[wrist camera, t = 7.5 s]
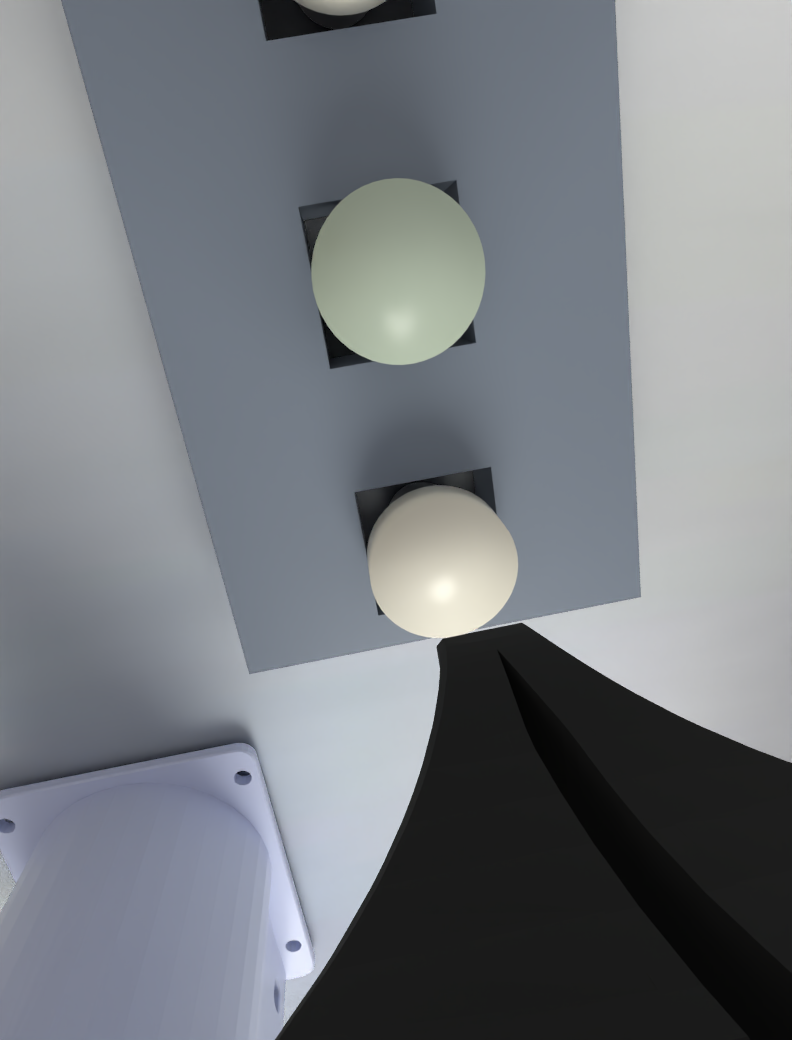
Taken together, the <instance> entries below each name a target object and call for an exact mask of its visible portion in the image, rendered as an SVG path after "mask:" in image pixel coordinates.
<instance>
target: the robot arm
mask: <svg viewBox="0 0 792 1040" xmlns="http://www.w3.org/2000/svg"><path fill="white" fill-rule="evenodd" d="M437 652H438V659H439V665H440V680H439V691H438V697H437V704H436V710H435V716H434V722H433V726H432V730H431V734H430V738H429V742H428V746H427V750H426V753H425V757H424V761H423V765H422V768H421V771H420V774H419V777H418V780H417V783H416V786H415V789H414V792H413V795H412V798H411V800H410V803H409V805H408V808H407V811H406V813H405V816H404V818H403V821H402V823H401V825H400V828H399V830H398V832H397V834H396V837H395V839H394V841H393V843H392V846H391V848H390V850H389V852H388V854H387V857H386V859H385V861H384V863H383V865H382V867H381V869H380V871H379V873H378V875H377V877H376V879H375V881H374V883H373V885H372V887H371V889H370V891H369V892H368V894H367V896H366V898H365V899H364V901H363V903H362V905H361V906H360V908H359V910H358V912H357V913H356V915H355V917H354V918H353V920H352V922H351V924H350V925H349V927H348V929H347V931H346V932H345V934H344V936H343V938H342V939H341V941H340V943H339V945H338V946H337V948H336V950H335V952H334V953H333V955H332V956H331V958H330V960H329V961H328V963H327V964H326V966H325V967H324V969H323V971H322V972H321V974H320V975H319V977H318V978H317V980H316V981H315V982H314V984H313V985H312V987H311V988H310V990H309V991H308V993H307V994H306V995H305V997H304V998H303V1000H302V1001H301V1003H300V1004H299V1006H298V1007H297V1008H296V1010H295V1011H294V1013H293V1014H292V1016H291V1017H290V1019H289V1020H288V1021H287V1023H286V1024H285V1026H284V1027H283V1017H284V1001H285V985H286V980H289V979H293V978H298V977H302V976H305V975H308V974H309V973H310V972H312V971H313V969H314V967H315V954H314V950H313V947H312V943H311V940H310V936H309V933H308V929H307V926H306V922H305V919H304V916H303V912H302V909H301V905H300V902H299V898H298V895H297V891H296V888H295V884H294V881H293V877H292V874H291V871H290V867H289V864H288V860H287V857H286V853H285V850H284V846H283V843H282V839H281V836H280V832H279V829H278V826H277V822H276V819H275V815H274V812H273V808H272V805H271V801H270V798H269V794H268V791H267V787H266V784H265V781H264V777H263V774H262V770H261V767H260V763H259V760H258V756H257V753H256V751H255V749H254V748H253V747H251V746H250V745H248V744H245V743H234V744H229V745H224V746H219V747H214V748H209V749H204V750H199V751H194V752H189V753H184V754H179V755H174V756H169V757H164V758H159V759H154V760H149V761H144V762H139V763H134V764H129V765H124V766H119V767H114V768H109V769H104V770H99V771H94V772H89V773H84V774H79V775H74V776H69V777H64V778H59V779H54V780H49V781H44V782H39V783H34V784H29V785H24V786H19V787H14V788H9V789H4V790H0V852H1V854H2V856H3V858H4V860H5V862H6V864H7V866H8V868H9V870H10V872H11V875H12V877H13V879H14V881H15V883H16V885H15V887H14V888H13V890H12V892H11V894H10V896H9V898H8V900H7V902H6V904H5V905H4V907H3V909H2V911H1V913H0V1040H792V763H790V762H787V761H784V760H781V759H779V758H776V757H774V756H771V755H768V754H766V753H763V752H760V751H758V750H755V749H753V748H750V747H748V746H745V745H743V744H741V743H738V742H736V741H734V740H731V739H729V738H727V737H724V736H722V735H720V734H717V733H715V732H713V731H710V730H708V729H706V728H703V727H701V726H699V725H697V724H695V723H692V722H690V721H688V720H686V719H684V718H682V717H680V716H678V715H676V714H674V713H672V712H670V711H668V710H666V709H664V708H662V707H660V706H658V705H656V704H654V703H653V702H651V701H649V700H647V699H645V698H643V697H641V696H639V695H637V694H635V693H634V692H632V691H630V690H628V689H626V688H625V687H623V686H621V685H619V684H618V683H616V682H614V681H612V680H611V679H609V678H607V677H606V676H604V675H602V674H601V673H599V672H597V671H596V670H594V669H592V668H591V667H589V666H588V665H586V664H584V663H583V662H581V661H580V660H578V659H576V658H575V657H573V656H572V655H570V654H569V653H567V652H566V651H564V650H563V649H561V648H559V647H558V646H556V645H555V644H553V643H552V642H550V641H549V640H547V639H546V638H544V637H543V636H541V635H540V634H538V633H537V632H535V631H534V630H532V629H531V628H529V627H528V626H526V625H525V624H523V623H519V624H513V625H508V626H503V627H498V628H493V629H488V630H483V631H478V632H473V633H468V634H463V635H458V636H453V637H448V638H443V639H442V640H441V642H440V643H439V644H438V645H437ZM239 771H247V772H249V773H250V775H248V776H241V775H239V774H237V772H239ZM4 819H9V820H11V821H13V823H9V822H7V821H5V820H4ZM291 940H296V941H291Z"/></svg>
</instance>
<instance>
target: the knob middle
mask: <svg viewBox="0 0 792 1040" xmlns="http://www.w3.org/2000/svg"><path fill="white" fill-rule="evenodd" d="M311 276H312V286H313V292H314V296H315V300H316V303H317V306H318V308H319V311H320V313H321V315H322V317H323V319H324V321H325V322H326V324H327V326H328V327H329V328H330V330H331V331H332V332H333V334H334V335H335V336H336V337H337V338H338V339H339V340H340V341H341V342H342V343H343V344H344V345H346V346H347V347H348V348H349V349H350V350H352V351H354V352H355V353H357V354H359V355H360V356H363V357H365V358H367V359H369V360H372V361H376V362H379V363H384V364H390V365H406V364H414V363H418V362H422V361H425V360H427V359H430V358H432V357H435V356H436V355H438V354H440V353H442V352H444V351H445V350H446V349H448V348H449V347H450V346H452V345H453V344H454V343H455V342H456V341H457V340H458V339H459V338H460V337H461V336H462V335H463V333H464V332H465V331H466V330H467V328H468V327H469V325H470V324H471V322H472V320H473V319H474V317H475V315H476V313H477V310H478V308H479V305H480V302H481V299H482V296H483V291H484V285H485V258H484V253H483V248H482V244H481V241H480V238H479V235H478V233H477V231H476V229H475V226H474V225H473V223H472V221H471V220H470V218H469V216H468V215H467V214H466V212H465V211H464V210H463V209H462V207H461V206H460V205H459V204H458V203H457V202H456V201H455V200H454V199H453V198H451V197H450V196H449V195H447V194H446V193H444V192H443V191H442V190H440V189H438V188H436V187H434V186H432V185H430V184H427V183H424V182H421V181H417V180H412V179H405V178H392V179H383V180H379V181H375V182H372V183H370V184H367V185H365V186H362V187H360V188H359V189H357V190H355V191H354V192H352V193H350V194H349V195H348V196H347V197H345V198H344V199H343V200H342V201H341V202H340V203H339V204H338V205H337V206H336V207H335V208H334V209H333V210H332V212H331V213H330V215H329V216H328V217H327V219H326V220H325V222H324V224H323V226H322V228H321V230H320V232H319V235H318V237H317V240H316V243H315V247H314V251H313V257H312V265H311Z"/></svg>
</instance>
